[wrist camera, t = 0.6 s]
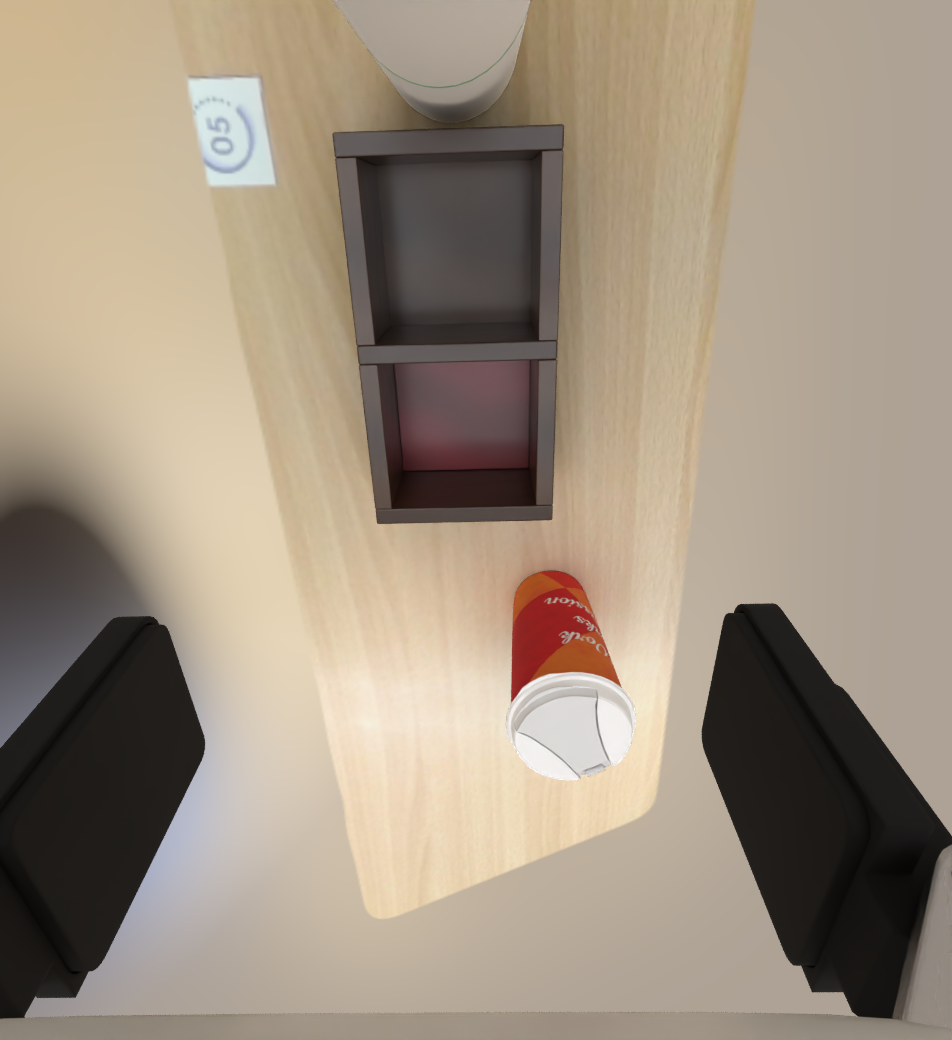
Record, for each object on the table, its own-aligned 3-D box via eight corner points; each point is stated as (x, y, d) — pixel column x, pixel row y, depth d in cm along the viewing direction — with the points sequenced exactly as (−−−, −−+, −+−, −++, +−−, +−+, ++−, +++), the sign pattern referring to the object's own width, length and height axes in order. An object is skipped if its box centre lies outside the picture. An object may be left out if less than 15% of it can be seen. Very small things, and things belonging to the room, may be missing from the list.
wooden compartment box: (359, 146, 34) (331, 132, 28) (548, 139, 34) (564, 124, 28) (392, 478, 43) (376, 524, 37) (542, 475, 43) (552, 520, 37)
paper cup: (615, 616, 48) (662, 758, 36) (528, 654, 50) (544, 802, 38) (571, 540, 45) (605, 666, 33) (480, 583, 47) (480, 719, 34)
